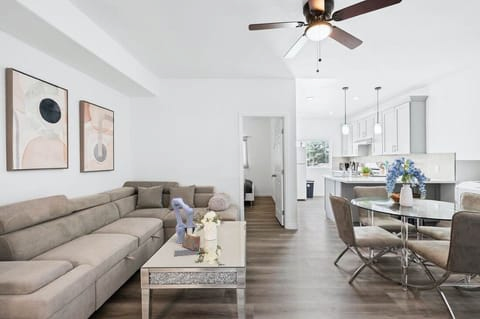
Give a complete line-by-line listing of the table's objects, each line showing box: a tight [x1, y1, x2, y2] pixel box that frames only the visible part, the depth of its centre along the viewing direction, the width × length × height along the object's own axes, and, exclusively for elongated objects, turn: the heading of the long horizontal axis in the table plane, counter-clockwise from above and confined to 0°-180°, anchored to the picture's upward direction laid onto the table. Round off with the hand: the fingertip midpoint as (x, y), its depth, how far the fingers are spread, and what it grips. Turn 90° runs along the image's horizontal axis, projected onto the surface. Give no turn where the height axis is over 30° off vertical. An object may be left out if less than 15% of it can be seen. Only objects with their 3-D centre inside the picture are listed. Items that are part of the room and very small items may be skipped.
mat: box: [173, 249, 199, 257], centre depth 228 cm, size 14×28×1 cm, turn 103°
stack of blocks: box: [181, 233, 201, 251], centre depth 239 cm, size 21×6×12 cm, turn 41°
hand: (189, 235), depth 247 cm, fingers open, 4 cm apart
